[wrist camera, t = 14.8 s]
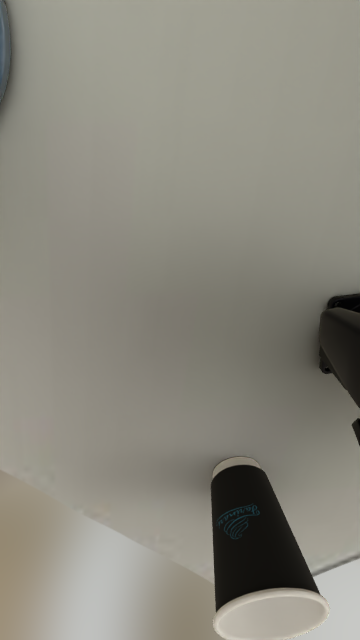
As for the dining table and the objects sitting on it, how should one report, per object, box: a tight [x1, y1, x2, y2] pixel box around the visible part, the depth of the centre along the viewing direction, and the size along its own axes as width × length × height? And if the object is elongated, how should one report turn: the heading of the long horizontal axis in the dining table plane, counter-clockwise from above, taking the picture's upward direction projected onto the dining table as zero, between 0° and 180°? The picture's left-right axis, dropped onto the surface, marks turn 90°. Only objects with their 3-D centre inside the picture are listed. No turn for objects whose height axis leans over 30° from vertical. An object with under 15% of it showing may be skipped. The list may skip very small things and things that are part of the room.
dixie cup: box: [211, 457, 330, 640], centre depth 26 cm, size 8×8×11 cm
